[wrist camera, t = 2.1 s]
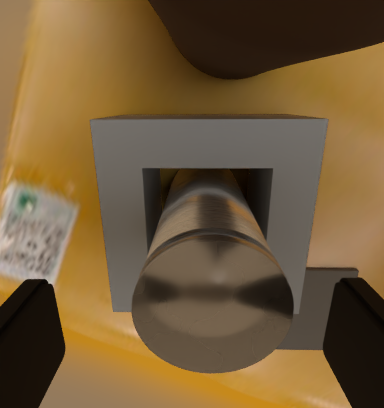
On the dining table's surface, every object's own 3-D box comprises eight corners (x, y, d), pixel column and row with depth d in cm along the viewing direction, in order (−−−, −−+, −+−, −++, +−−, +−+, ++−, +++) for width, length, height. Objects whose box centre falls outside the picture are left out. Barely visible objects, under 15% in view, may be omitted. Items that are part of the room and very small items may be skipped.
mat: (356, 268, 25) (358, 270, 24) (338, 346, 28) (340, 350, 27) (242, 267, 25) (243, 269, 25) (237, 345, 28) (238, 348, 28)
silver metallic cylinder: (240, 158, 22) (304, 241, 9) (236, 223, 24) (284, 374, 10) (169, 158, 22) (125, 240, 9) (171, 223, 24) (137, 372, 11)
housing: (286, 114, 21) (328, 118, 14) (271, 257, 25) (298, 314, 18) (124, 114, 21) (89, 119, 14) (135, 256, 25) (113, 311, 18)
